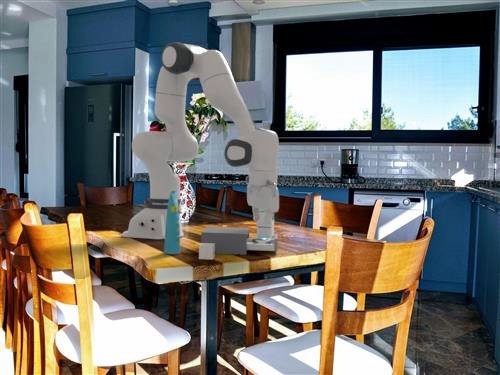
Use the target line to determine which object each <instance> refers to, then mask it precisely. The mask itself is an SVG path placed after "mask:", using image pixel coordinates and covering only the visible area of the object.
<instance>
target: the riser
mask: <svg viewBox="0 0 500 375" xmlns="http://www.w3.org/2000/svg"><path fill="white" fill-rule="evenodd" d="M215 256H216V254H215V243H201V242H200V244H199V246H198V260H214V259H215Z"/></svg>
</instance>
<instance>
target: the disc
mask: <svg viewBox="0 0 500 375" xmlns="http://www.w3.org/2000/svg"><path fill="white" fill-rule="evenodd" d="M252 239H253V241H252V244H271V239H269V238H262V237H260V238H257V237H253V238H252Z"/></svg>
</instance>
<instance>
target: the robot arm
mask: <svg viewBox="0 0 500 375" xmlns="http://www.w3.org/2000/svg"><path fill="white" fill-rule="evenodd" d="M224 56H225V55H224V54H222V53H221V51H219V50H217V49H208V48H204V47H202V46H199V45H195V44H187V43H182V42H179V41H178V42H177V41H176V42H175V41H174V42H170V43H169V42H168V43H167V44H166V45H165V46H164V48H163V50H162V52H161V56H160V57H161V58H160V59H161V65H162V66H161V67H160V70H159V73H158V77H157V83H156V87H155V88H156V89H155V96H154V97H155V99H154V110H153V112H154V115H155V117H156V118H157V119H158V120H159V121H161V122H162V123H164V125H165V127H166V128H165V129H166V131H156V130H153V131H152V130H148V131H140V132H138V133H136V134H135V135H134V137H133V139H132V142H131V150H132V153H133V155H134V156H135V157H136V158H137V159H139V161H140V162H141V164H143V166H145V168H146V171H147V173H148V176H149V189H150V190H149V192H150V194H149V198H147V199H146V200H144V201H143V202H144V203H143V204H144V208H143V209H142V210H141V211H139V212H138V213H137V214H135V215H134V216H133V217H132V218H131V219H130V220H129V224H128V229H127V230H125V231H123V232H122V234H121V236H122V237H124V238H135V239H136V238H137V239H150V240H165V230H166V218H167V209H168V202H169V197H170V193H171V191H175V190H177V198H178V207H179V225H180V238H181V237H184V232H183V226H182V219H181V213H182V199H181V178H180V176H179V175H178V174H177V173H175V172H173V171H172V170H170V168H169V166H168V162H175V163H176V162H178V163H183V162H188V161H193V160H194V159H196V157H197V155H198V153H199V148H200V147H199V143H198V140H197V138H196V137H195V136H194V135H193V134H192V133H191V131H190V129H189V128H188V125H187V121H186V103H187V102H186V101H187V100H186V99H187V89H188V84H189V82H190V81H191V80H193V81H195V82H197V81H199V82H200V85H201V88H202V91H203V94H204V97H205V99H206V100H207V102H208V103H209V105H211V107H213V108H215V109H216V110H218V111H220V112H222V113H223V114H225V115H226V116H228V117H229V118H230V119H231V121H232V122H233V124H234V125H235V128H236V130H237V132H238V134H239V137H238V138H234V139H231V140H229V141H228V142H227V143H226V145H225V147H224V152H223V156H224V159H225V162H226V163H227V164H228V165H229V166H230V167H233V168H237V169H250V170H249V174H248V176H246V177H245V183H246V184H247V186H246V201H247V204H248V206H250V207H251V208H252V214H253V217H252V219H253V221H255V222H257V221H259V220H260V215H259V210H260V209H261V210H264V211H265V218H264V219H263V224H264V225H270V220H271V217H272V213H273V212H274V213H278V212H279V209H280V194H279V193H280V192H279V189H278V187H277V185H278V175H279V173H278V172H279V171H278V170H279V169H278V160H279V156H280V155H279V154H280V153H279V150H280V147H279V146H280V144H279V143H280V142H279V136H278V134H277V132H275V131H273V130H270V129H265V128H262V127H261V128H259V127H256V124H255V121H254V119H253V118H252V115H251V113H250V110H249V108H248V106H247V105H246V102H245V101H244V99H243V97H242V95H241V93H240V91H239V88H238V85H237V84H236V82H235V79H234V75H233V73H232V70H231V68H230V66H229V64H228V62H227V60H226V58H225V57H224Z"/></svg>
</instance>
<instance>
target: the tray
mask: <svg viewBox="0 0 500 375" xmlns="http://www.w3.org/2000/svg"><path fill="white" fill-rule="evenodd" d="M278 237H279V236H278V233H274V239H271V244H252V241H253V238H250V237H249V238H247V247H246V250H248V251H265V252H266V251H268V252H269V251H270V252H271V251H272V252H278V243H279V242H278V241H279V240H278Z"/></svg>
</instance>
